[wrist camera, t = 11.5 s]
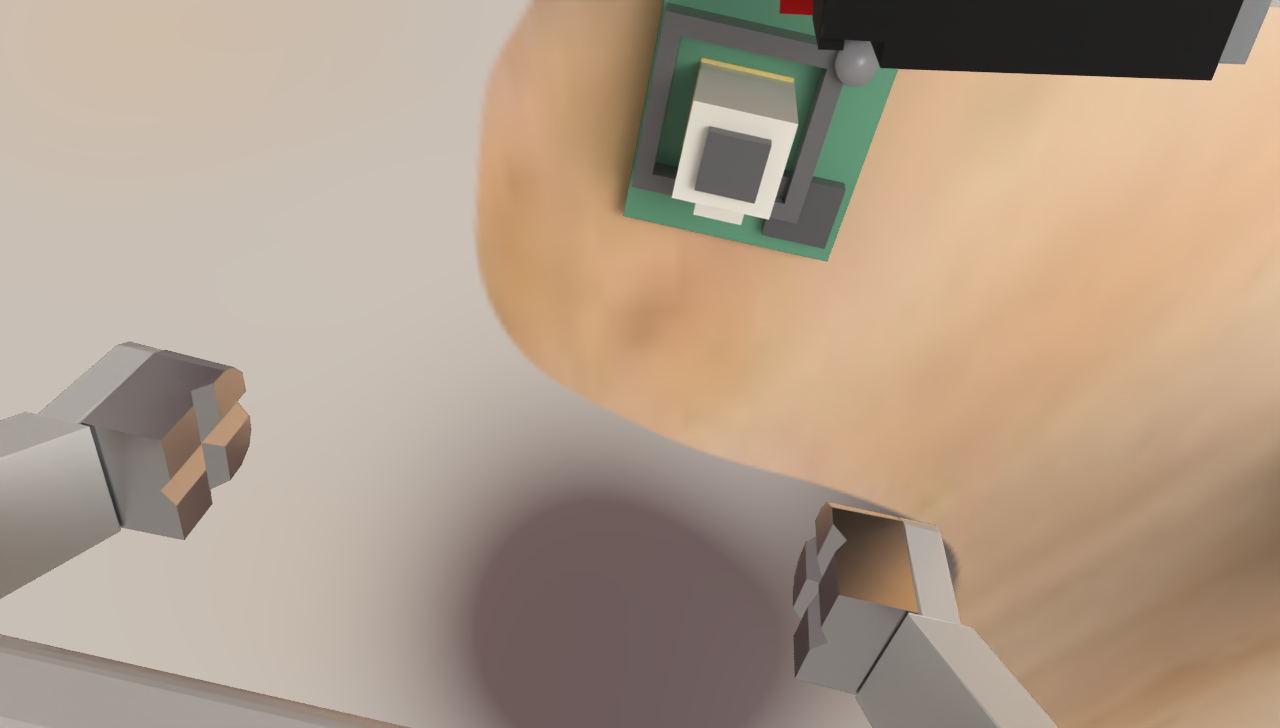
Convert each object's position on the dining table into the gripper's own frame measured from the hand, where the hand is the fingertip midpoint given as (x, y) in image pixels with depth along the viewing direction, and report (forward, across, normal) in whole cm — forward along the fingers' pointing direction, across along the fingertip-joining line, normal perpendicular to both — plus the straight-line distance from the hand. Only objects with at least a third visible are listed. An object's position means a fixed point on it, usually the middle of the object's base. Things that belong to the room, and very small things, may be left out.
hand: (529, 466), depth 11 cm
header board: (+29, -4, +4) cm, 29 cm away
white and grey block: (+27, -3, +4) cm, 28 cm away
